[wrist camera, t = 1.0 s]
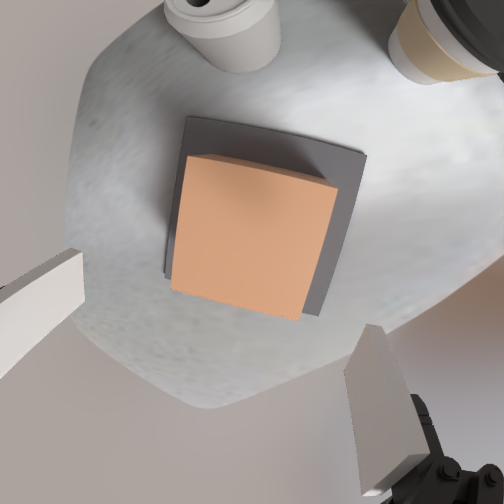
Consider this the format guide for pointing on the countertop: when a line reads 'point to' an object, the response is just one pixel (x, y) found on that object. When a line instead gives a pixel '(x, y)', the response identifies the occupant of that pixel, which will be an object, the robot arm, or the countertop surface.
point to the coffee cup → (448, 40)
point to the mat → (288, 157)
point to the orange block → (250, 233)
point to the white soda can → (229, 31)
